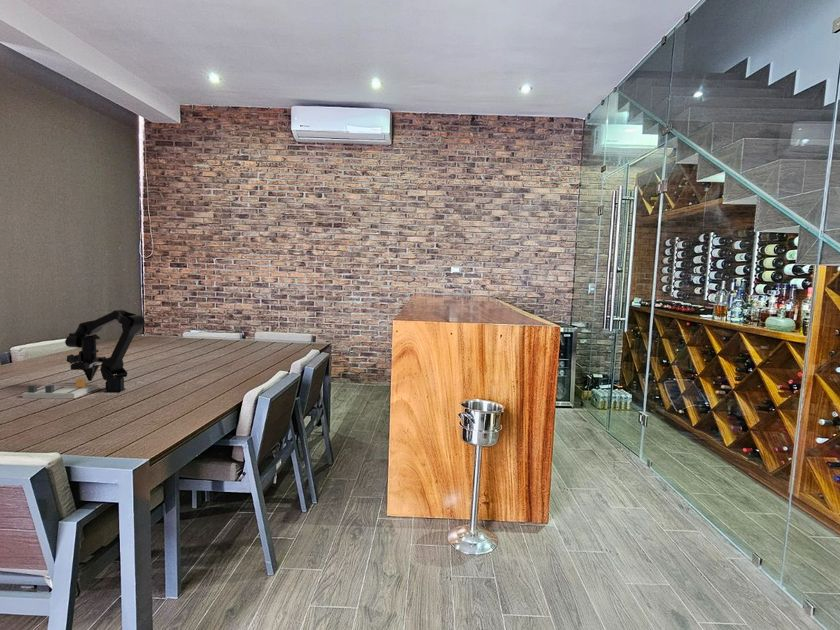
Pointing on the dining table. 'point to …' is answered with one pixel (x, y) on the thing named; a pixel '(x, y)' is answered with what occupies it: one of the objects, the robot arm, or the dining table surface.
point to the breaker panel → (57, 391)
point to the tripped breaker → (80, 383)
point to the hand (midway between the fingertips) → (89, 380)
